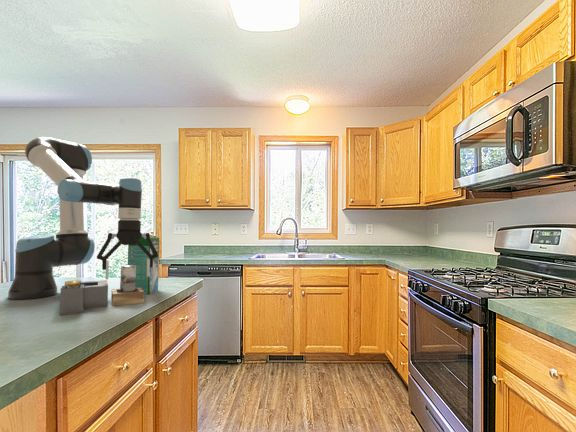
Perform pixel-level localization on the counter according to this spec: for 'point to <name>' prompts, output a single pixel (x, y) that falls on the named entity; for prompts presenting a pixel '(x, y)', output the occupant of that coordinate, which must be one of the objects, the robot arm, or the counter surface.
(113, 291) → the tray
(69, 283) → the gold rounded cylinder
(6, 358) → the counter surface
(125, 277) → the shiny silver rounded cylinder
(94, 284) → the socket block
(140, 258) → the milk carton
